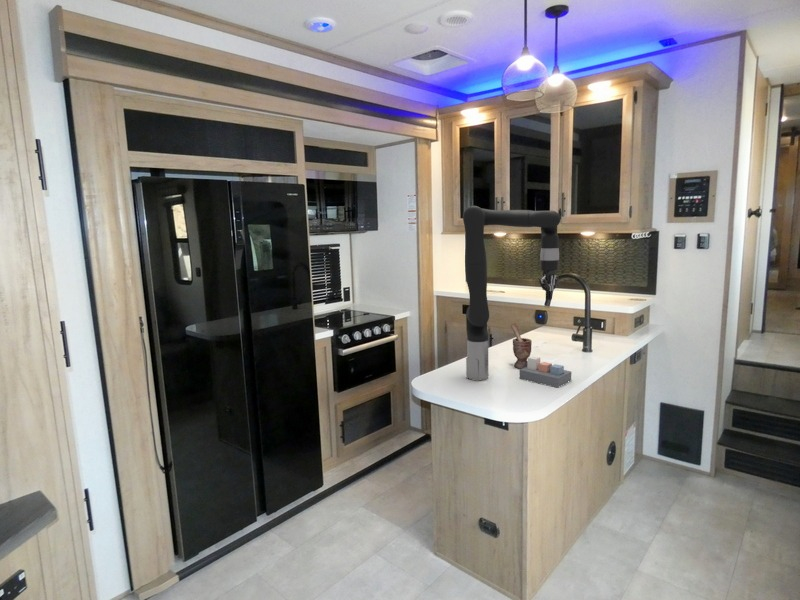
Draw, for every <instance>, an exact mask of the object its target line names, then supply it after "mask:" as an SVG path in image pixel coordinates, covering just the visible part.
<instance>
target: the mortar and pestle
mask: <svg viewBox="0 0 800 600" xmlns="http://www.w3.org/2000/svg"><path fill="white" fill-rule="evenodd" d="M510 326H511V328H510V329H512V331H513V334H514V336H515V338H513V339H512V350H513V351H512V352H513V355H514V357H515V358H516V359H517V360H516V361H515V363H514V366H513V367H515V368H517V369H523V368H525V367H527V361H528V358H529V357H531V353H532V342H533V341H532V339H530V338H527V337H522V336H521V334H520V330H519V328H518V327H519V326H518V325H517V323H515V322H514V323H511V325H510Z"/></svg>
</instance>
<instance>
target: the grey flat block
mask: <svg viewBox="0 0 800 600" xmlns="http://www.w3.org/2000/svg"><path fill="white" fill-rule="evenodd" d="M519 379H520V380H524V381H527V380H528V382H531V381H532V383H536V384H540V383H542V385H544V384H546V385H545V386H548V385H551V386H550V387H553V386H555V387H554V388H557V387H558V388H560V387H562V386H564V385H565V383H566V384H567V383H569V382H571V381H572V371H571V370H566V369H564V374H562V375H560V376H559V375H554V374H550V372H549V373H545V372H540V371H539V369H538V370H531V369H527V367H525V368H523V369H521V368H519ZM570 380H571V381H570ZM568 381H569V382H568ZM563 384H564V385H563ZM561 385H562V386H561ZM559 386H560V387H559Z"/></svg>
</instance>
